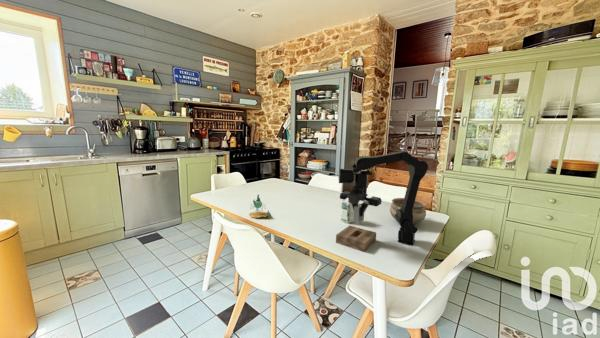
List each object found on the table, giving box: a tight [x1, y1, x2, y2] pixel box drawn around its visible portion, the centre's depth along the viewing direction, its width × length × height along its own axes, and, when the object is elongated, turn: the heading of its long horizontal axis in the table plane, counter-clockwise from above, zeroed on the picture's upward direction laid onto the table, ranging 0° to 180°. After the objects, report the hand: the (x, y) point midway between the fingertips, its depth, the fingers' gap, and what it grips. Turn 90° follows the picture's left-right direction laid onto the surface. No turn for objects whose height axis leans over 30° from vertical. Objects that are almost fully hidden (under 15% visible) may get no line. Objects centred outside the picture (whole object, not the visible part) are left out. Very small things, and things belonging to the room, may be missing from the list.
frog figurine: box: [248, 194, 273, 219], centre depth 145 cm, size 10×18×15 cm, turn 53°
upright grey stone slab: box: [352, 203, 365, 225], centre depth 114 cm, size 2×6×8 cm, turn 141°
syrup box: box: [340, 198, 354, 224], centre depth 138 cm, size 6×6×14 cm
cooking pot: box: [389, 197, 427, 225], centre depth 137 cm, size 25×19×12 cm
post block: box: [335, 225, 377, 253], centre depth 114 cm, size 14×14×4 cm
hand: (358, 215), depth 114 cm, fingers closed on upright grey stone slab, 2 cm apart
